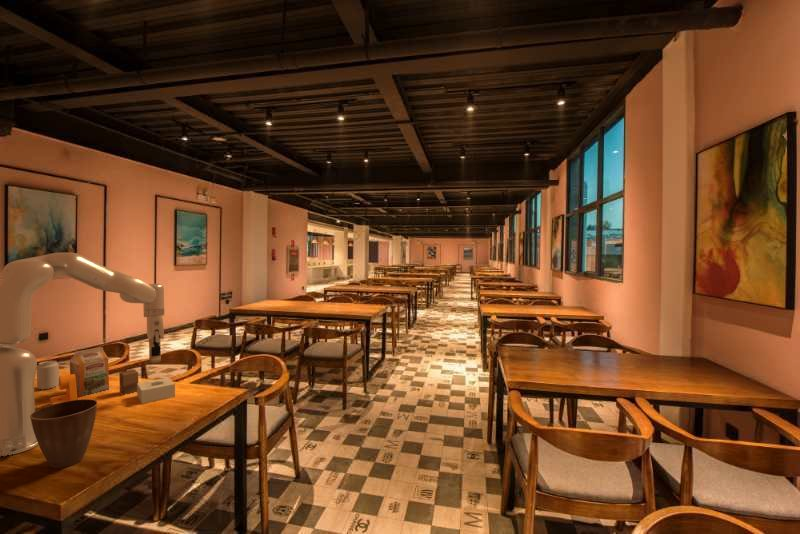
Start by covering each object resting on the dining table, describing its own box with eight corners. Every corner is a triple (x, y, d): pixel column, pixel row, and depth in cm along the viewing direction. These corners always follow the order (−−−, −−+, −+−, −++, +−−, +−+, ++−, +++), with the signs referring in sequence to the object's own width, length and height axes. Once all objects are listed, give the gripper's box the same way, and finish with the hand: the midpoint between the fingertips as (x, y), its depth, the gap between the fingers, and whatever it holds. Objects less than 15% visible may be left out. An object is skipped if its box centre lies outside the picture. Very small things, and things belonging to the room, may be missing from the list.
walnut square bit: (138, 391, 172) (138, 371, 172) (124, 395, 168) (123, 374, 167) (134, 389, 175) (133, 369, 175) (119, 392, 171) (119, 372, 171)
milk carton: (80, 397, 165) (79, 353, 165) (70, 392, 171) (69, 350, 170) (109, 390, 174) (108, 348, 174) (98, 385, 180) (97, 345, 179)
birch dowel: (161, 361, 166) (161, 334, 165) (150, 363, 163) (149, 335, 162) (159, 360, 169) (159, 332, 168) (148, 361, 166) (148, 334, 166)
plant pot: (18, 480, 104) (16, 422, 104) (51, 452, 119) (49, 401, 118) (83, 471, 108) (82, 415, 108) (107, 446, 123) (106, 396, 122)
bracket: (50, 404, 158) (49, 375, 157) (72, 399, 163) (72, 371, 163) (53, 411, 150) (53, 381, 150) (77, 405, 156) (77, 376, 155)
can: (41, 386, 179) (40, 360, 179) (61, 384, 182) (61, 359, 182) (34, 391, 172) (33, 365, 172) (55, 389, 175) (54, 363, 175)
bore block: (175, 396, 166) (174, 384, 166) (141, 403, 158) (141, 390, 158) (169, 389, 175) (168, 377, 175) (137, 395, 167) (137, 383, 167)
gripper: (168, 313, 161) (169, 357, 162) (160, 309, 174) (161, 349, 174) (147, 315, 156) (148, 360, 157) (140, 311, 169) (141, 352, 169)
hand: (155, 354), depth 166 cm, fingers closed on birch dowel, 4 cm apart
